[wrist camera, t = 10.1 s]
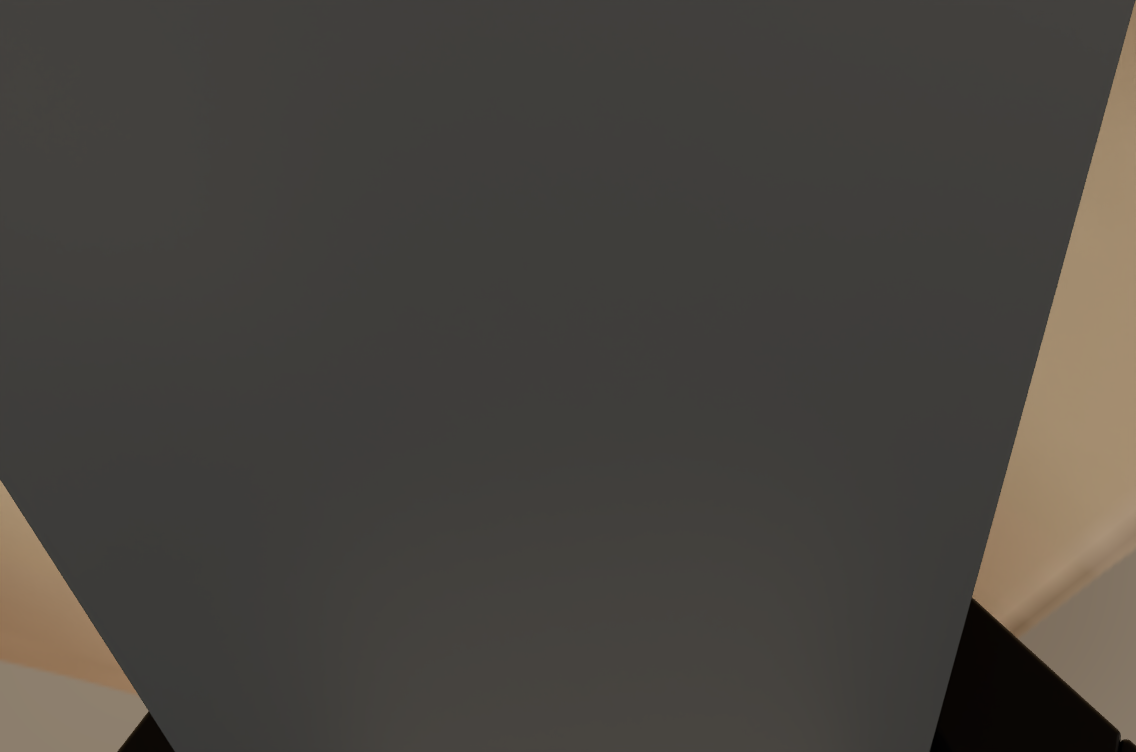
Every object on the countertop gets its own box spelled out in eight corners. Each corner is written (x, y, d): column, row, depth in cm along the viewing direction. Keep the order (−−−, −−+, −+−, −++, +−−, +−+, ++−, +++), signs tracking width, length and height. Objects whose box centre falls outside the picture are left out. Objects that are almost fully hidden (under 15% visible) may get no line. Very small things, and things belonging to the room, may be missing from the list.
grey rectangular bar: (738, 734, 14) (826, 1129, 10) (454, 765, 14) (442, 1169, 10) (780, -309, 6) (1186, -186, 3) (147, -237, 6) (-321, -18, 3)
